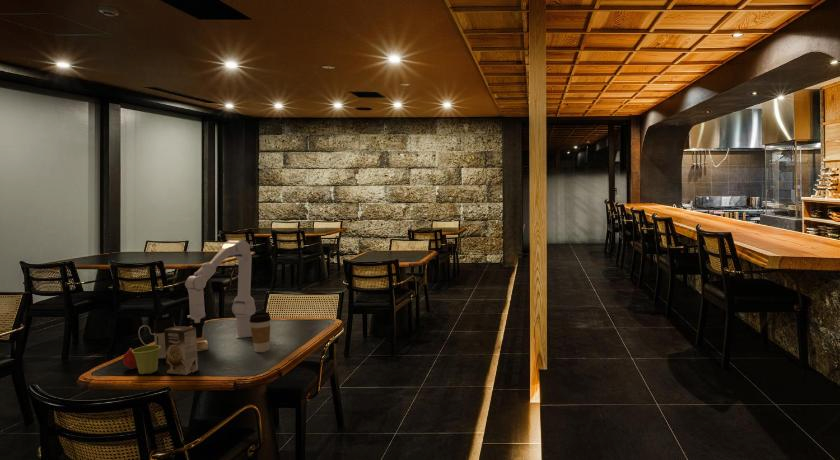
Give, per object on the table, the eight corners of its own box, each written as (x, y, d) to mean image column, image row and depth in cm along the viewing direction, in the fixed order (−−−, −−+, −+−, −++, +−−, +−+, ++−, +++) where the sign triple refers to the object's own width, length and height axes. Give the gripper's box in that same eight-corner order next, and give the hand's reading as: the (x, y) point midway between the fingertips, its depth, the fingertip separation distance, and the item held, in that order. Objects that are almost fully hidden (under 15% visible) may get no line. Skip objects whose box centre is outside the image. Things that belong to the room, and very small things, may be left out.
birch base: (206, 347, 229) (206, 340, 229) (208, 350, 224) (207, 343, 224) (191, 349, 227) (191, 342, 226) (192, 352, 221) (192, 345, 221)
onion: (128, 366, 204) (126, 346, 203) (143, 365, 204) (142, 345, 204) (120, 371, 198) (119, 350, 198) (137, 370, 198) (135, 349, 198)
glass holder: (181, 354, 218) (179, 318, 217) (144, 363, 208) (141, 325, 207) (173, 350, 224) (170, 315, 223) (136, 358, 214) (134, 321, 213)
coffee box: (166, 373, 194) (163, 329, 193) (179, 367, 200) (176, 325, 199) (185, 375, 191) (182, 330, 190) (199, 369, 197) (196, 326, 196)
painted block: (204, 338, 227) (203, 327, 227) (204, 340, 224) (203, 329, 223) (194, 340, 226) (193, 328, 226) (193, 342, 222) (192, 330, 222)
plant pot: (143, 377, 190) (141, 353, 190) (128, 373, 195) (126, 350, 195) (167, 369, 198) (165, 346, 198) (152, 366, 203) (151, 343, 203)
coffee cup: (276, 347, 222) (274, 312, 221) (264, 353, 214) (262, 316, 213) (259, 346, 225) (257, 311, 224) (246, 352, 217) (244, 315, 216)
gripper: (187, 302, 229) (189, 333, 230) (185, 308, 216) (187, 341, 217) (205, 300, 232) (207, 331, 233) (204, 306, 218) (206, 339, 219)
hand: (199, 336), depth 225 cm, fingers closed on painted block, 4 cm apart
